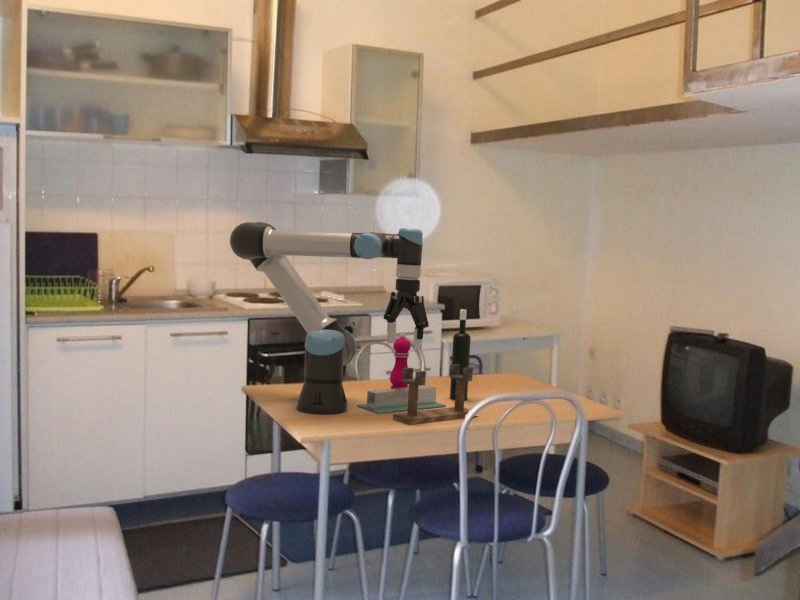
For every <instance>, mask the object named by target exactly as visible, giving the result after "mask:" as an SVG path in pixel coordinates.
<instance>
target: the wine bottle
mask: <svg viewBox="0 0 800 600" xmlns="http://www.w3.org/2000/svg"><path fill="white" fill-rule="evenodd" d="M466 325H467V309H466V308H465V309H462V308H461V309H460V311H459V331H458V332H455V333H454V335H453V337H452V353H451V365H454V364H459V365H460V373H459V374H460V375H463V368H469V367H470V358H471V357H470V356H471V340H472V339H471V335H470V334H469V333H466ZM468 386H469V381H467V382H465V396H464V401H468V391H469V387H468ZM449 390H450V393H449V399H450V400H452V401H455V391H456V379H453V378H450V387H449Z"/></svg>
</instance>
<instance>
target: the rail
mask: <svg viewBox="0 0 800 600" xmlns="http://www.w3.org/2000/svg"><path fill="white" fill-rule="evenodd" d="M408 392H409V387H405V388H394V389H391V388H383V389H375V390H373V389H372V390H367V393H366V404H367V407H369V408H371V409H384V408H393V407H403V406H408ZM436 402H437V387H436V386H432V385H429V384H428V385H422V386H418V404H417V405H421V404H431V403H436Z"/></svg>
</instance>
